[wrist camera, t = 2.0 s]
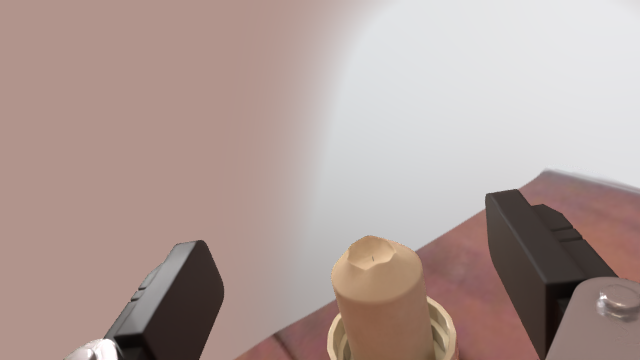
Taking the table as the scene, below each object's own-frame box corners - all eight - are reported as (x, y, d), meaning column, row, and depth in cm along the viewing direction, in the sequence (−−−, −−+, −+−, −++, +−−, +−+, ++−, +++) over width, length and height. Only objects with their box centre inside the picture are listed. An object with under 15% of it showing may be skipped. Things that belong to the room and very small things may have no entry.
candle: (454, 376, 26) (438, 253, 22) (381, 418, 25) (350, 295, 21) (407, 322, 31) (387, 213, 27) (344, 355, 30) (312, 246, 25)
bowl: (314, 390, 28) (302, 355, 27) (377, 310, 34) (370, 277, 32) (425, 457, 23) (417, 418, 21) (479, 349, 28) (476, 311, 27)
